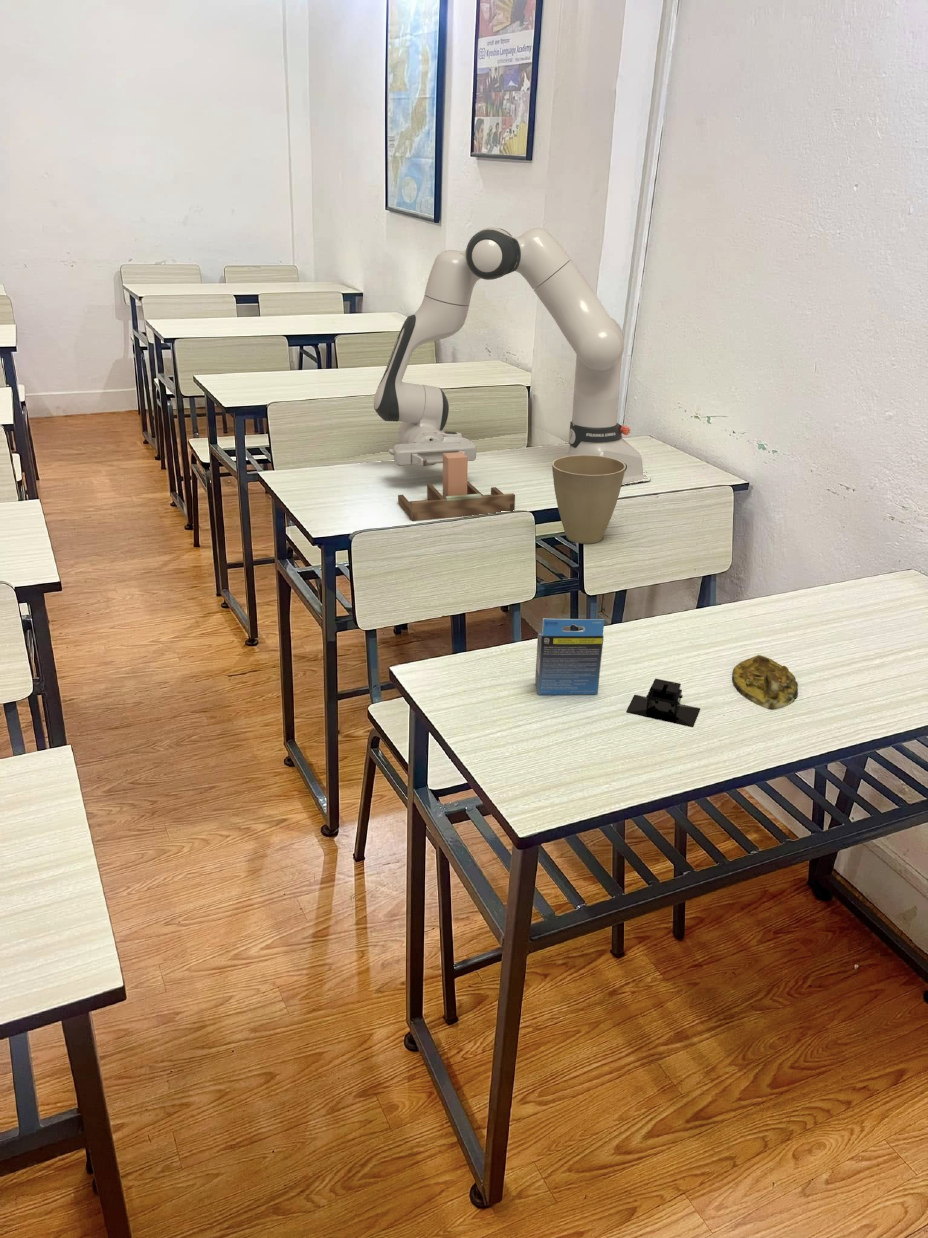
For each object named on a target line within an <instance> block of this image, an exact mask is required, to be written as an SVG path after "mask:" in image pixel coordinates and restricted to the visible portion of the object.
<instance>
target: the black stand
mask: <svg viewBox="0 0 928 1238" xmlns="http://www.w3.org/2000/svg"><path fill="white" fill-rule="evenodd" d="M681 685H682V683H680V682H674V681H669V680H665V679H659V678H654V680H653V683H652V684H651V686H650V687H649V690H648V693H647V694H646V696H643V695H639V694H634V695H633V696H632V699H631V700H630V703H629V705H628V707H627V709H626V711H625V712H626V713H627V714H630V715H635V716H640V717H644V718H650V719H654V720H658V721H661V722H667V723H671V724H676V725H680V726H684V727H689V728H694V727H695V724H696V722H697V719H698V717H699V714H700V711H701V708H700V707H697V706H696V707H695V706H692V705H686V704H682V703H681V701H682V699H683V697H684V696H683V693H682V691H683V689H681Z"/></svg>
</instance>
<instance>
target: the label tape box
mask: <svg viewBox="0 0 928 1238" xmlns="http://www.w3.org/2000/svg"><path fill="white" fill-rule="evenodd" d="M571 626H575V627H577V628H581V629H582V630H563V628H570V627H571ZM604 628H605V619H604V618H602V619H601V618H598V619H597V618H595V619H592V618H591V619H589V618H588V619H586V618H585V619H583V618H544V617H543V618H542V629H541V632H542V633H538V634H537V642H536V643H537V645H536V662H535V676H534V677H535V680H534V681H535V682H534V683H535V687H536V691H537V695H539V696H556V695H557V696H558V695H559V696H560V695H562V696H564V695H599V683H600V676H601V675H600V674H601V666H602V657H603V656H602V654H603V648H604V647H603V646H604Z"/></svg>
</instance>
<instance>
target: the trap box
mask: <svg viewBox="0 0 928 1238" xmlns="http://www.w3.org/2000/svg"><path fill="white" fill-rule="evenodd" d="M397 504H398V505H399V506H400V508H401V509H402V510H403V512H404V513H405V514H406V516H407V517H408V518H409V519H410V520H411V522H417V521H429V520H439V519H451V518H460V517H461V518H462V516H463V517H473V516H472V515H474V516H480V515H479V514H485V515H489V514H488V513H496V512H501V511H513V510H515V509H516V508H515V507H516V506H515V505H516V494H515V493H514V492H513V493H503V492H502V491H501V490H500V489H499V488H498V487H496V486H492V487H490V494H482V492H481V491H480V490H478V489H477V488H476V487H475V485H473V484H472V483H470V482H469V480H467V495H457V496H446V499H445V498H444V497H443V494H441V493H440V492H439V490H437V488H436V487H435V486H434V485H433V484H432V483H427V485H426V499H422V500H421V499H419V500H412V501H411V500H410V501H409V500H408V499H407V497H405V495H404V494H397Z"/></svg>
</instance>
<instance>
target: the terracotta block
mask: <svg viewBox="0 0 928 1238" xmlns="http://www.w3.org/2000/svg"><path fill="white" fill-rule="evenodd" d="M468 463H469V461H468V457H467V456H466V455H465V454H463V453H462V452H456V453H443V463H442V496H443V497H444V498H445V499H446V496H457V495H467V481H468V472H469V471H468V469H469V468H468V467H469V466H468V465H469V464H468Z"/></svg>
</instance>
